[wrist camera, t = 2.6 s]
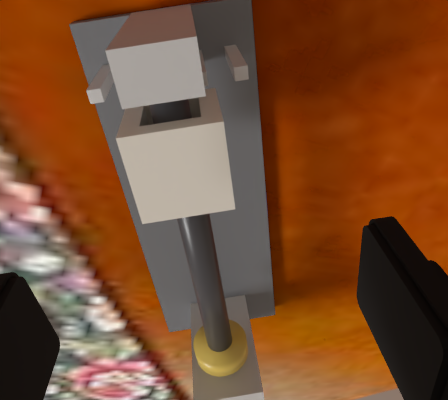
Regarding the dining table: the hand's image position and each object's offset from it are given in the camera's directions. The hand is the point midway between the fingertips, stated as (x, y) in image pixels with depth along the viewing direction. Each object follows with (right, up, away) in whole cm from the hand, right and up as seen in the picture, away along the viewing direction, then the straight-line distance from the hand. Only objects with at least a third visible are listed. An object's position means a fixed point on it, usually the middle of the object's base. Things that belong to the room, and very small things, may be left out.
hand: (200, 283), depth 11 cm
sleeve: (-2, +5, +8) cm, 10 cm away
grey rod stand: (-1, +2, +15) cm, 16 cm away
